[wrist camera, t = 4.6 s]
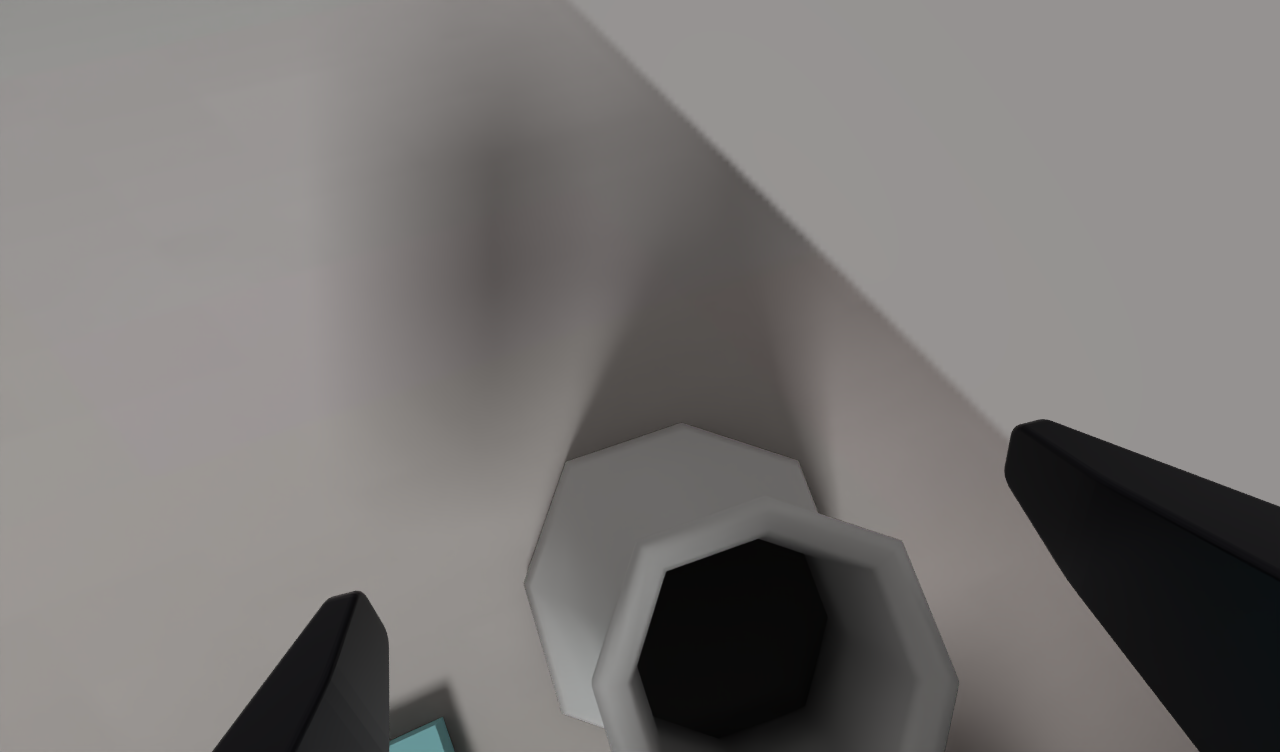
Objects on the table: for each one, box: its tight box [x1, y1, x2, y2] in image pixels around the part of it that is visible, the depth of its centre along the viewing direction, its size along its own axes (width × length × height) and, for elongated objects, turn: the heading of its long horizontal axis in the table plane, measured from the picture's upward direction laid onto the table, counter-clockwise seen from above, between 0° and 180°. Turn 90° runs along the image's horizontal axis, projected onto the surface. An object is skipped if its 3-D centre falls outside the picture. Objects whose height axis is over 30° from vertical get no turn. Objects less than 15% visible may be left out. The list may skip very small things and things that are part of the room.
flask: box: [524, 423, 959, 752], centre depth 11 cm, size 7×7×10 cm
